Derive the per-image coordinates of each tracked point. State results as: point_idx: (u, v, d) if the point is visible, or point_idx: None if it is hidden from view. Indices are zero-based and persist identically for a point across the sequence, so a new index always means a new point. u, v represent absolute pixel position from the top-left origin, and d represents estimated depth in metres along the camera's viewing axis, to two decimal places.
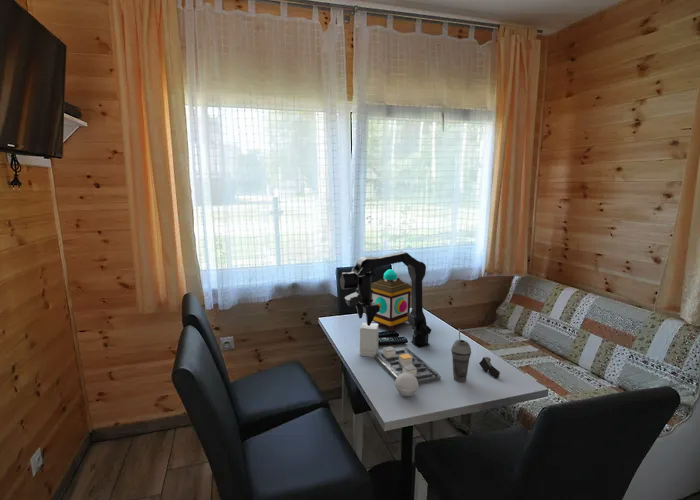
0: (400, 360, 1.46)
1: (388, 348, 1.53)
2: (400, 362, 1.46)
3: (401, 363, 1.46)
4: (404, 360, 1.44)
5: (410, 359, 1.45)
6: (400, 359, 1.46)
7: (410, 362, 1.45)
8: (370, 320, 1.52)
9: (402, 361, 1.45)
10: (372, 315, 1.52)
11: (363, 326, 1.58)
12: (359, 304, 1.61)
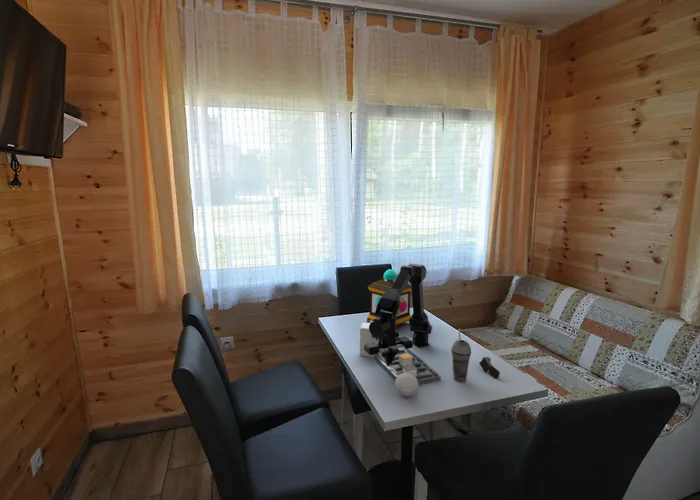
0: (400, 360, 1.46)
1: None
2: (400, 362, 1.46)
3: (401, 363, 1.46)
4: (404, 360, 1.44)
5: (410, 359, 1.45)
6: (400, 359, 1.46)
7: (410, 362, 1.45)
8: (386, 360, 1.43)
9: (402, 361, 1.45)
10: (385, 356, 1.42)
11: (363, 326, 1.58)
12: (389, 350, 1.44)
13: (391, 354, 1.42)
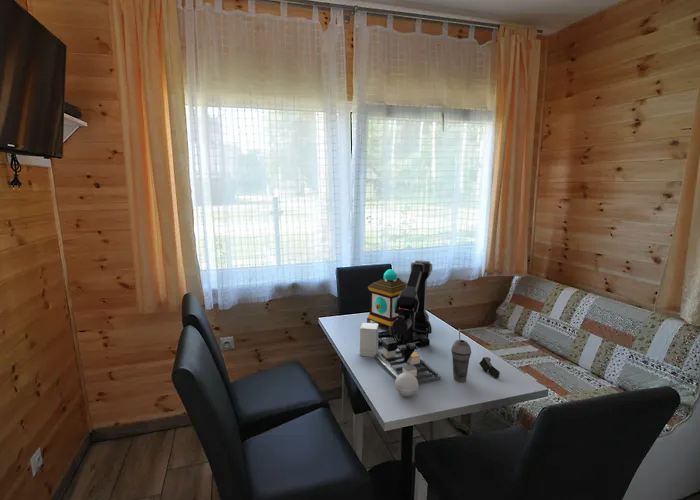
0: (408, 359, 1.48)
1: None
2: (408, 361, 1.48)
3: (409, 362, 1.47)
4: (412, 359, 1.45)
5: (418, 358, 1.46)
6: None
7: (418, 361, 1.47)
8: (403, 357, 1.46)
9: (410, 360, 1.46)
10: (403, 352, 1.45)
11: (363, 326, 1.58)
12: (406, 347, 1.46)
13: (409, 351, 1.44)
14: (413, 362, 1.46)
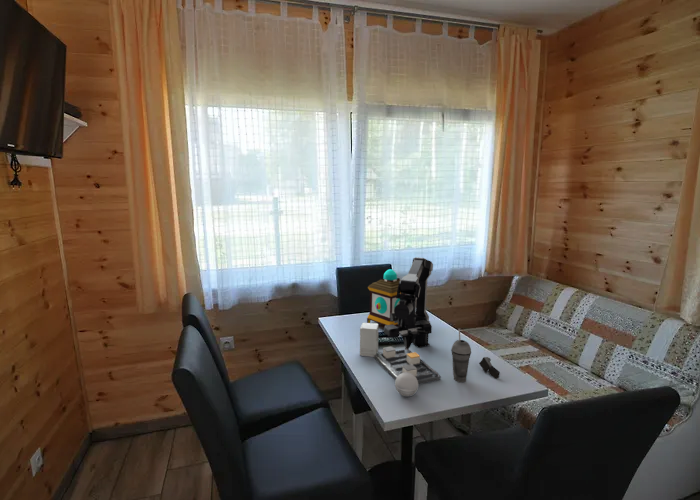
0: (408, 359, 1.47)
1: (388, 348, 1.53)
2: (408, 361, 1.48)
3: (409, 362, 1.47)
4: (412, 359, 1.45)
5: (418, 358, 1.46)
6: (408, 358, 1.47)
7: (418, 361, 1.47)
8: (405, 343, 1.45)
9: (410, 360, 1.46)
10: (405, 338, 1.43)
11: (363, 326, 1.58)
12: (408, 333, 1.45)
13: (411, 336, 1.43)
14: (413, 362, 1.46)
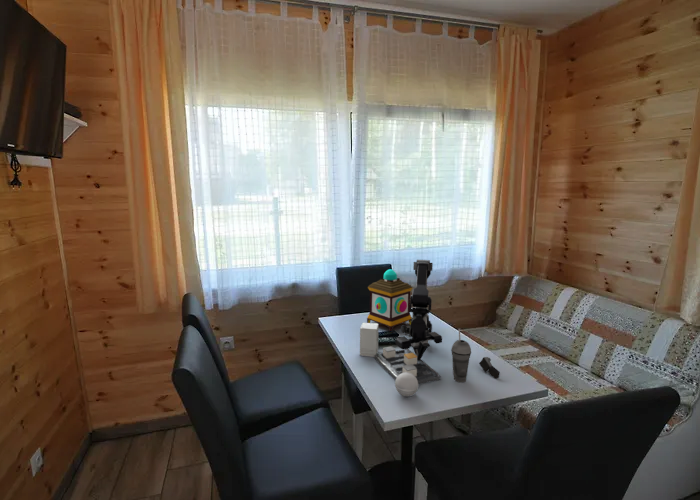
0: (405, 359, 1.47)
1: (388, 348, 1.53)
2: (405, 361, 1.47)
3: (406, 362, 1.46)
4: (409, 359, 1.45)
5: (415, 358, 1.46)
6: (405, 358, 1.47)
7: (415, 361, 1.46)
8: (416, 355, 1.47)
9: (407, 360, 1.46)
10: (416, 350, 1.46)
11: (363, 326, 1.58)
12: (419, 344, 1.48)
13: (422, 348, 1.46)
14: (410, 363, 1.45)
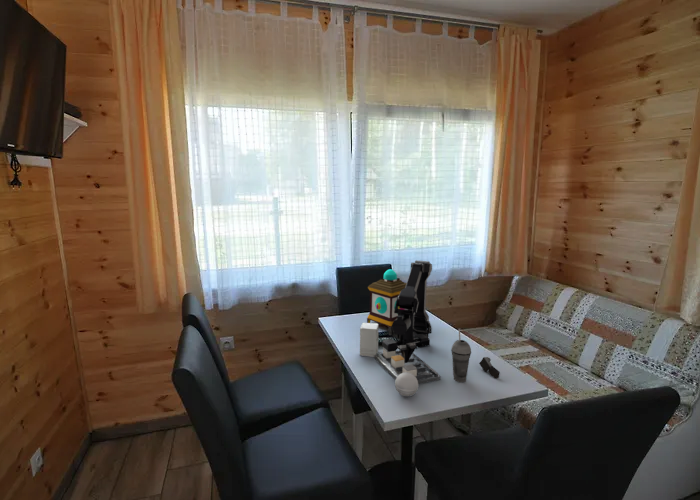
0: (392, 361, 1.45)
1: None
2: (392, 363, 1.45)
3: (393, 364, 1.44)
4: (396, 361, 1.43)
5: (402, 360, 1.44)
6: (392, 360, 1.45)
7: (402, 363, 1.44)
8: (404, 357, 1.45)
9: (394, 362, 1.44)
10: (403, 353, 1.44)
11: (363, 326, 1.58)
12: (407, 347, 1.46)
13: (409, 351, 1.44)
14: (397, 365, 1.43)
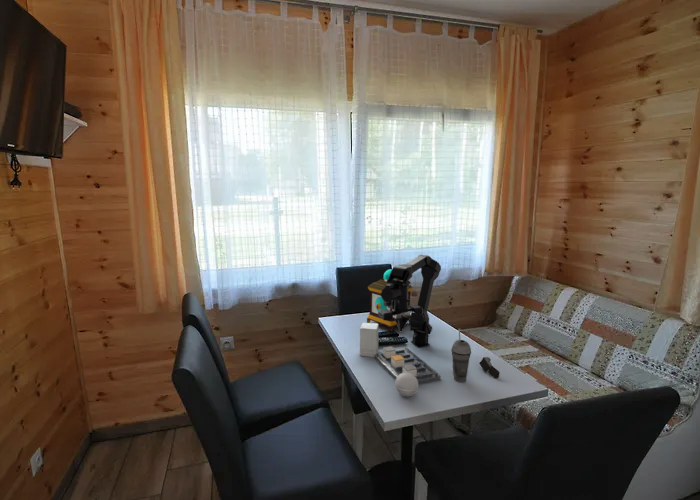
0: (392, 361, 1.45)
1: (388, 348, 1.53)
2: (392, 363, 1.45)
3: (393, 364, 1.44)
4: (396, 361, 1.43)
5: (402, 360, 1.44)
6: (392, 360, 1.45)
7: (402, 363, 1.44)
8: (398, 326, 1.54)
9: (394, 362, 1.44)
10: (398, 322, 1.53)
11: (363, 326, 1.58)
12: (401, 316, 1.55)
13: (404, 320, 1.53)
14: (397, 365, 1.43)
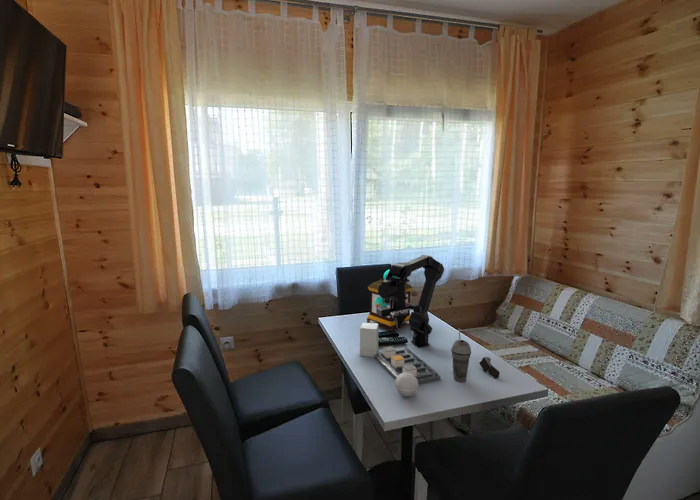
0: (392, 361, 1.45)
1: (388, 348, 1.53)
2: (392, 363, 1.45)
3: (393, 364, 1.44)
4: (396, 361, 1.43)
5: (402, 360, 1.44)
6: (392, 360, 1.45)
7: (402, 363, 1.44)
8: (396, 323, 1.56)
9: (394, 362, 1.44)
10: (396, 319, 1.55)
11: (363, 326, 1.58)
12: (399, 314, 1.57)
13: (402, 317, 1.55)
14: (397, 365, 1.43)
